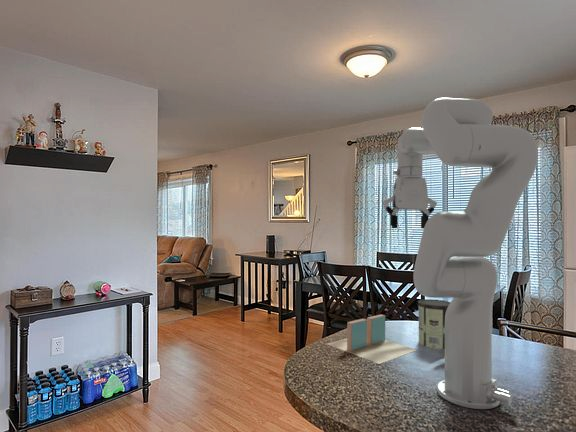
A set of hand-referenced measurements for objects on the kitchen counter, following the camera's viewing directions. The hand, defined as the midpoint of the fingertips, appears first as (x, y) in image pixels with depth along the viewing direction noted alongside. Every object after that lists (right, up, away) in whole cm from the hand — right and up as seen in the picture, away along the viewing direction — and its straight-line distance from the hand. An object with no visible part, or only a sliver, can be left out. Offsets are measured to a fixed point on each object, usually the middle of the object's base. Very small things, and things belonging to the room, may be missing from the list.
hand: (409, 228), depth 116 cm
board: (-13, -37, -5) cm, 40 cm away
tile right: (-10, -36, 0) cm, 37 cm away
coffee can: (+8, -38, -1) cm, 38 cm away
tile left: (-18, -36, -6) cm, 40 cm away
